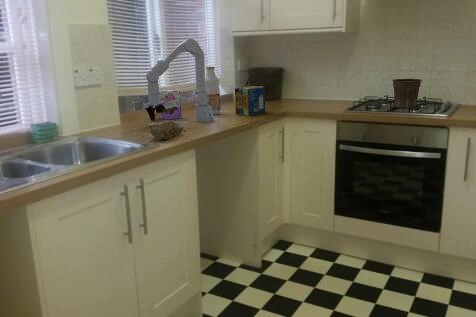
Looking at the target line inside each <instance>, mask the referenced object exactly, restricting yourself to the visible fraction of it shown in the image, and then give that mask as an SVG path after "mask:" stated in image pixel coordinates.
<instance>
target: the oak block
mask: <svg viewBox="0 0 476 317" xmlns="http://www.w3.org/2000/svg"><path fill="white" fill-rule="evenodd" d="M162 121H163V119H162V113H156V112H155V121H151V119H150V118H149V122H150V123H157V122H162Z"/></svg>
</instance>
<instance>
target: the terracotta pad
mask: <svg viewBox="0 0 476 317" xmlns="http://www.w3.org/2000/svg"><path fill="white" fill-rule="evenodd" d="M169 121H172V122H173V120H172V119H163V120H162V122H161V123H165V122H169Z"/></svg>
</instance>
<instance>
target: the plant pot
mask: <svg viewBox="0 0 476 317" xmlns="http://www.w3.org/2000/svg"><path fill="white" fill-rule="evenodd" d="M391 81H392V86H393V99H394V108H395V107H396V108H397V109H404V110H406V109H407V110H409V108H410V109H416V108H417V106H418V98H419V92H420V88H421V83H422V81H423V80H422V79H421V78H420V79H419V78H397V79H396V78H395V79H392V80H391Z"/></svg>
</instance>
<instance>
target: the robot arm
mask: <svg viewBox="0 0 476 317" xmlns="http://www.w3.org/2000/svg"><path fill="white" fill-rule="evenodd" d="M186 52H187V53H190V55H192V56H193V57H194V66H195V90H194V95H193V101H194V102H195V104H194V113H195V114H194V115H195V122H205V123H206V122H211V121H214V115H213V108H212V107H211V106H209V105H208V100H209V99H208V96H207V91H206V88H205V77H206V70H205V68H206V67H205V52H204V51H203V49H202V48H201V46H200V44H199V42H198V41H196V40H195V39H194V38H186V39H183V40H182V42H180V43H179V44H178V45H176V46H175V47H174V49H173V50H172V51H171V52H170V53H169V54H168V55H167V56H166V57H165V58H163V59H162V58H161V59H160V60H157V61H156V64H155V65H154V66H153V67H151V68H150V70H149V71H147V73H146V76H145V78H146V80H147V94H148V102H147V103H144V104H142V105H143V108H144V109H145V110H146V112H147V115H148V117H149V120H150V119H151V121H155V113H162V112H163V109H164V107H165V106H164V105H165V104H166V102H165V101H160V94H159V91H160V84H159V79H160V77H161V76H162V75H164V73H165V72H166V71H167V70H168V69H169V68H170V64H171V63H172V62H173V61H174V60H175V59H176V58H177V57H178V56H180V54H183V53H186ZM157 104H158V105H157Z"/></svg>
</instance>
